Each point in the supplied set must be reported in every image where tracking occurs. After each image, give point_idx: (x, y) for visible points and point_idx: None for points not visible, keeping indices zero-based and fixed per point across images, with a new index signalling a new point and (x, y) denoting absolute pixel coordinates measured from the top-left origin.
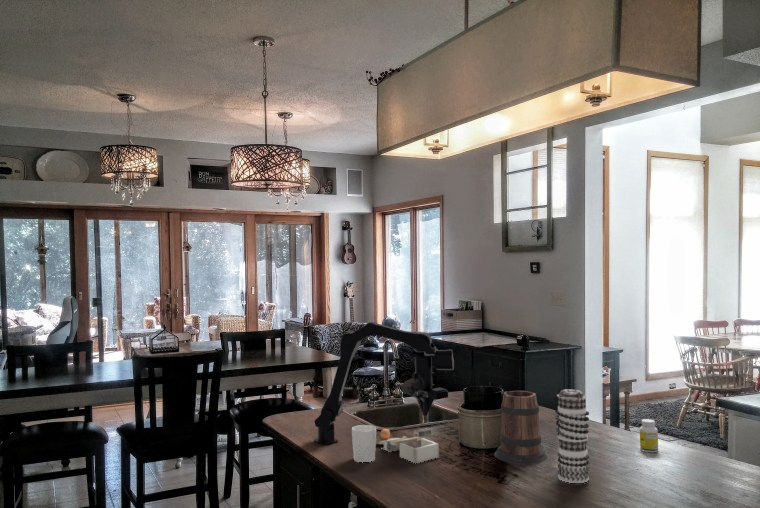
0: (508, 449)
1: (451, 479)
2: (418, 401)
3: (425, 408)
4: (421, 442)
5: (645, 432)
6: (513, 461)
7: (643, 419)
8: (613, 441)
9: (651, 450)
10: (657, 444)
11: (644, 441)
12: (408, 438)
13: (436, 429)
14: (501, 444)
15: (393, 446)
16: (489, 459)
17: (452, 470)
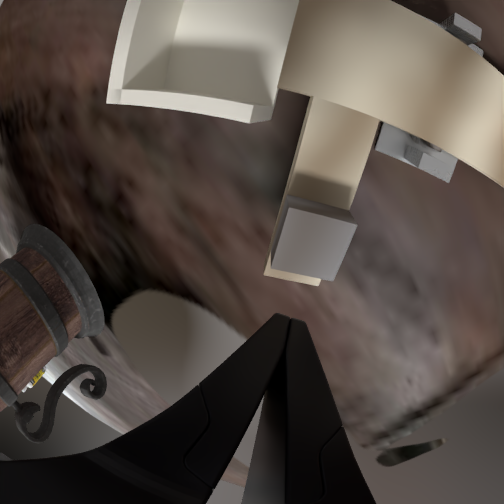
0: (26, 255)
1: (43, 12)
2: (354, 501)
3: (209, 378)
4: (253, 104)
5: None
6: (29, 229)
7: (22, 390)
8: (74, 388)
9: None
10: None
11: None
12: (377, 113)
13: (380, 403)
14: (43, 277)
15: None
16: (59, 214)
17: (62, 51)
